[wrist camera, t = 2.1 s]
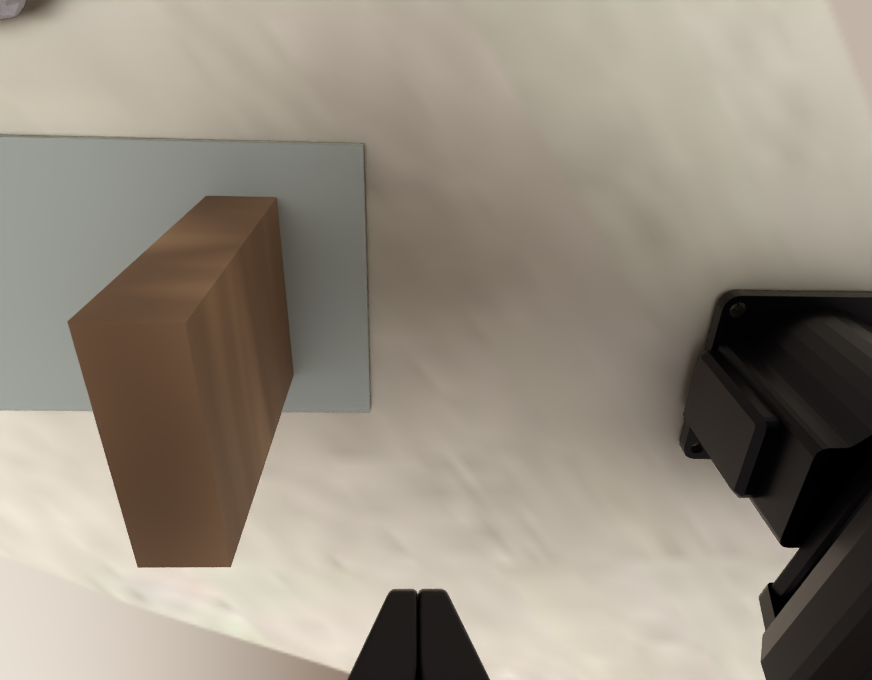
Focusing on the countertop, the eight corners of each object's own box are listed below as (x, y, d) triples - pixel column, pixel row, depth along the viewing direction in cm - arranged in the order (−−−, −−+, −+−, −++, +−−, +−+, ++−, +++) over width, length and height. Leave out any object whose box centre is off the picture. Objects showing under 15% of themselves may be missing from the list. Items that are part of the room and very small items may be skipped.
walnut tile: (276, 197, 18) (185, 323, 11) (293, 375, 21) (230, 567, 13) (203, 195, 18) (63, 321, 11) (231, 374, 20) (134, 567, 13)
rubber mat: (363, 143, 17) (362, 145, 17) (370, 407, 22) (369, 412, 21) (-191, 130, 17) (-201, 132, 16) (-71, 404, 21) (-77, 409, 21)
